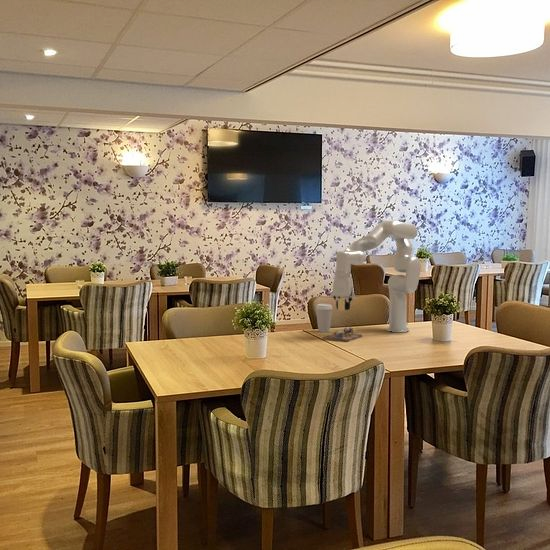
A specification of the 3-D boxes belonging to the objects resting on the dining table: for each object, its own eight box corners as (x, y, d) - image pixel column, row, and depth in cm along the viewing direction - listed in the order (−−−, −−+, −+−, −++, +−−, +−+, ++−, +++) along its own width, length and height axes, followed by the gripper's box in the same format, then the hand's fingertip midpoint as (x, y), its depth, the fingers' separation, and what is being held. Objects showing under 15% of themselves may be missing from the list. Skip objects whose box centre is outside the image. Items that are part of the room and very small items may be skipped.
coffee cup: (312, 330, 352) (312, 304, 350) (327, 329, 356) (327, 303, 354) (320, 333, 343) (320, 306, 342) (335, 332, 347) (335, 305, 346)
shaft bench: (338, 334, 341) (339, 325, 341) (362, 336, 333) (362, 328, 333) (322, 339, 326) (322, 330, 326) (346, 342, 318) (347, 333, 318)
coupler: (340, 308, 331) (341, 297, 331) (348, 309, 329) (348, 298, 328) (337, 309, 328) (337, 298, 328) (345, 310, 325) (345, 299, 325)
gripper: (325, 274, 328) (325, 308, 330) (354, 276, 319) (354, 311, 321) (332, 273, 335) (332, 307, 336) (361, 275, 325) (360, 309, 327)
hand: (343, 308), depth 328 cm, fingers closed on coupler, 4 cm apart
